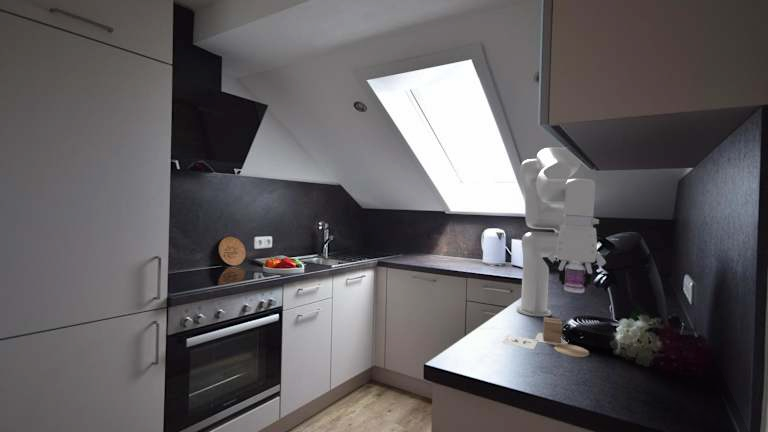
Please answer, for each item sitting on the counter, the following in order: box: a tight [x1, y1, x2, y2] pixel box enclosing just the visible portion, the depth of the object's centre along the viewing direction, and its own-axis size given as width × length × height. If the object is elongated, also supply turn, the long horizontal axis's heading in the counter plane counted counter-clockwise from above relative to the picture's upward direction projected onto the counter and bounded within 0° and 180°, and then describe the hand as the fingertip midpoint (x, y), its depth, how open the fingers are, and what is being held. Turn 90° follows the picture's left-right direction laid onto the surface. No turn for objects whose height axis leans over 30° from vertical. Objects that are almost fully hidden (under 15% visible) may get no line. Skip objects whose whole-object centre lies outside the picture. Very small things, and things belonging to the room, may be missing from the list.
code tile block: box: [534, 332, 569, 346], centre depth 121 cm, size 9×9×1 cm
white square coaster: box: [501, 334, 539, 350], centre depth 118 cm, size 9×9×1 cm
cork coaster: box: [553, 343, 590, 358], centre depth 112 cm, size 9×9×1 cm
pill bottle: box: [563, 261, 587, 294], centre depth 111 cm, size 5×5×10 cm
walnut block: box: [542, 316, 563, 343], centre depth 120 cm, size 5×5×6 cm
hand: (574, 284), depth 111 cm, fingers closed on pill bottle, 5 cm apart
